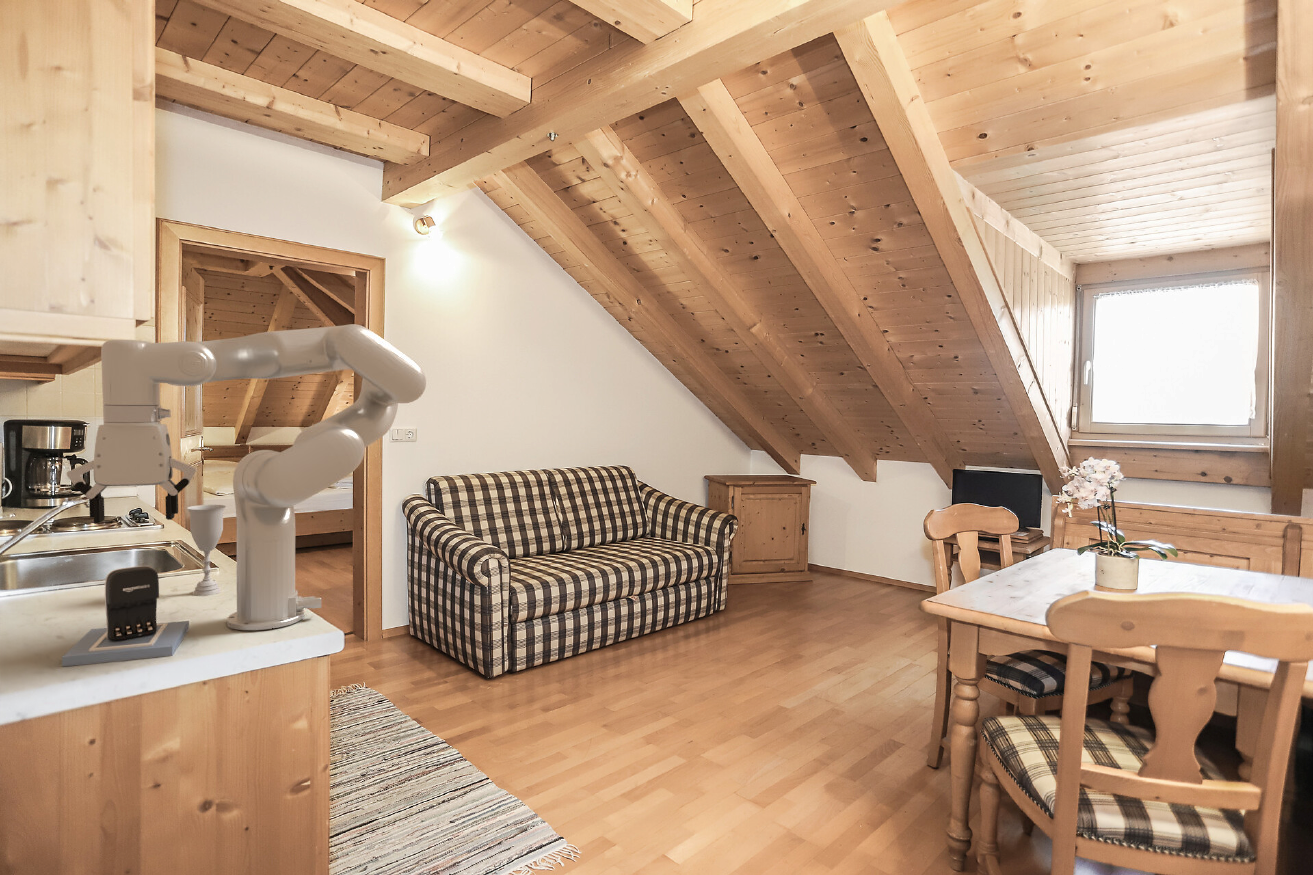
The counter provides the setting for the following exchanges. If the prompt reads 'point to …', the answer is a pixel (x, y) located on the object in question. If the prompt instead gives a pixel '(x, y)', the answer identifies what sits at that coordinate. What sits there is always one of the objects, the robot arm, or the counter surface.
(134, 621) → the battery charger
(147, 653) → the grey flat square block
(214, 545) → the chalice
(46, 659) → the counter surface
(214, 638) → the counter surface
